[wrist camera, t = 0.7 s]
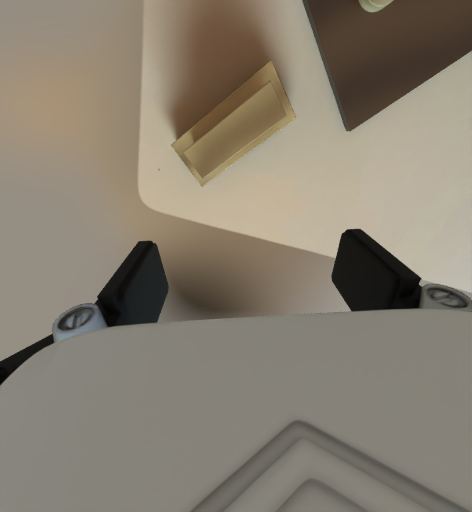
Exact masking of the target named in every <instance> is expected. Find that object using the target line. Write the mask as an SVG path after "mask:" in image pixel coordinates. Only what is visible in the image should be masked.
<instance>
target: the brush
mask: <svg viewBox="0 0 472 512" xmlns="http://www.w3.org/2000/svg"><path fill="white" fill-rule="evenodd" d="M295 118H296V116H295V114H294V111H293V109H292V107H291V104H290V102H289V100H288V98H287V95H286V93H285V91H284V88H283V86H282V84H281V81H280V79H279V77H278V74H277V72H276V70H275V68H274V65H273V63H272V61H271V60H270V61H269V62H268V63H267V64H266V65H264V66H263V67H262V68H261V69H260V70H258V71H257V72H256V73H255V74H254V75H253V76H251V77H250V78H249V79H248V80H247V81H246V82H244V83H243V84H242V85H241V86H240V87H239V88H237V89H236V90H235V91H234V92H233V93H231V94H230V95H229V96H228V97H227V98H226V99H224V100H223V101H222V102H221V103H220V104H219V105H217V106H216V107H215V108H214V109H213V110H212V111H210V112H209V113H208V114H207V115H206V116H204V117H203V118H202V119H201V120H200V121H199V122H197V123H196V124H195V125H194V126H193V127H192V128H190V129H189V130H188V131H187V132H186V133H185V134H183V135H182V136H181V137H180V138H179V139H177V140H176V141H175V142H174V143H173V144H172V145H171V146H172V147H173V149H174V150H175V151H176V153H177V154H178V155H179V157H180V158H181V159H182V161H183V162H184V163H185V165H186V166H187V167H188V169H189V170H190V171H191V173H192V174H193V175H194V177H195V178H196V179H197V181H198V182H199V183H200V185H201V186H202V187H203V186H204V185H206V184H207V183H208V182H210V181H211V180H212V179H214V178H215V177H216V176H218V175H219V174H220V173H222V172H223V171H225V170H226V169H227V168H229V167H230V166H231V165H233V164H234V163H235V162H237V161H238V160H239V159H241V158H242V157H244V156H245V155H246V154H248V153H249V152H250V151H252V150H253V149H254V148H256V147H257V146H258V145H260V144H261V143H263V142H264V141H265V140H267V139H268V138H269V137H271V136H272V135H273V134H275V133H276V132H278V131H279V130H280V129H282V128H283V127H284V126H286V125H287V124H288V123H290V122H291V121H292V120H294V119H295Z"/></svg>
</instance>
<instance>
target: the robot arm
mask: <svg viewBox="0 0 472 512" xmlns="http://www.w3.org/2000/svg"><path fill="white" fill-rule="evenodd" d="M420 280H421V278H420V277H419V276H418V275H417V274H415V273H414V272H413V271H412V270H411V269H409V268H408V267H407V266H406V265H404V264H403V263H402V262H401V261H399V260H398V259H397V258H396V257H394V256H393V255H392V254H391V253H390V252H388V251H387V250H386V249H385V248H383V247H382V246H381V245H380V244H378V243H377V242H376V241H375V240H373V239H372V238H371V237H370V236H368V235H367V234H366V233H365V232H364V231H362V230H361V229H348V230H346V231H345V233H342V235H341V239H340V243H339V247H338V252H337V256H336V260H335V264H334V268H333V272H332V282H333V283H334V285H335V286H336V288H337V289H338V291H339V293H340V294H341V296H342V297H343V299H344V300H345V302H346V303H347V305H348V306H349V308H350V309H351V311H352V312H334V313H317V314H299V315H280V316H263V317H246V318H228V319H211V320H193V321H178V322H162V323H157V321H158V318H159V315H160V313H161V310H162V307H163V304H164V301H165V299H166V296H167V293H168V282H167V279H166V276H165V272H164V268H163V265H162V261H161V258H160V254H159V251H158V247H157V245H156V243H153V242H152V241H139V242H138V243H137V244H136V246H135V247H134V248H133V250H132V251H131V253H130V254H129V255H128V256H127V258H126V259H125V260H124V262H123V263H122V264H121V266H120V267H119V268H118V270H117V271H116V272H115V274H114V275H113V276H112V278H111V279H110V280H109V282H108V283H107V284H106V286H105V287H104V288H103V290H102V291H101V292H100V293H99V295H98V296H97V298H98V300H97V301H96V302H95V304H92V303H86V304H81V305H77V306H75V307H72V308H70V309H69V310H67V311H65V312H64V313H62V314H61V315H60V316H59V317H58V318H57V319H56V320H55V322H54V323H53V326H52V332H53V334H51V335H49V336H48V337H46V338H44V339H42V340H40V341H38V342H36V343H34V344H32V345H31V346H29V347H27V348H25V349H23V350H21V351H19V352H17V353H15V354H14V355H12V356H10V357H8V358H6V359H4V360H2V361H0V512H472V300H471V299H470V298H469V297H468V296H467V295H465V294H464V293H462V292H460V291H458V290H456V289H454V288H451V287H448V286H444V285H440V284H426V285H424V286H423V287H421V286H420V285H419V282H420Z"/></svg>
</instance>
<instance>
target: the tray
mask: <svg viewBox="0 0 472 512" xmlns="http://www.w3.org/2000/svg"><path fill="white" fill-rule="evenodd" d="M303 3H304V6H305V9H306V12H307V15H308V18H309V21H310V24H311V27H312V30H313V33H314V36H315V39H316V42H317V45H318V48H319V51H320V54H321V57H322V60H323V63H324V66H325V69H326V72H327V75H328V78H329V81H330V84H331V87H332V90H333V93H334V96H335V99H336V102H337V105H338V108H339V111H340V114H341V117H342V120H343V123H344V126H345V129H346V131H351V130H353V129H354V128H356V127H357V126H359V125H360V124H362V123H363V122H365V121H366V120H368V119H369V118H371V117H372V116H374V115H376V114H377V113H379V112H380V111H382V110H383V109H385V108H386V107H388V106H389V105H391V104H392V103H394V102H395V101H397V100H398V99H400V98H401V97H403V96H404V95H406V94H407V93H409V92H410V91H412V90H413V89H415V88H416V87H418V86H419V85H421V84H422V83H424V82H425V81H427V80H428V79H430V78H431V77H433V76H434V75H436V74H437V73H439V72H440V71H442V70H443V69H445V68H446V67H448V66H449V65H451V64H452V63H454V62H455V61H457V60H458V59H460V58H461V57H463V56H464V55H466V54H467V53H469V52H470V51H472V0H393V1H392V2H391V3H389V4H388V5H387V6H385V7H384V8H383V9H381V10H379V11H376V12H368V11H366V10H364V9H363V8H362V6H361V5H360V3H359V0H303Z"/></svg>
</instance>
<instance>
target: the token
mask: <svg viewBox="0 0 472 512" xmlns="http://www.w3.org/2000/svg"><path fill="white" fill-rule="evenodd" d="M392 1H393V0H359V3H360V5H361V6H362V8H363V9H364V10H366V11H368V12H376V11H379V10H381V9H383V8H384V7H385V6H387V5H388V4H389V3H391V2H392Z"/></svg>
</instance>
